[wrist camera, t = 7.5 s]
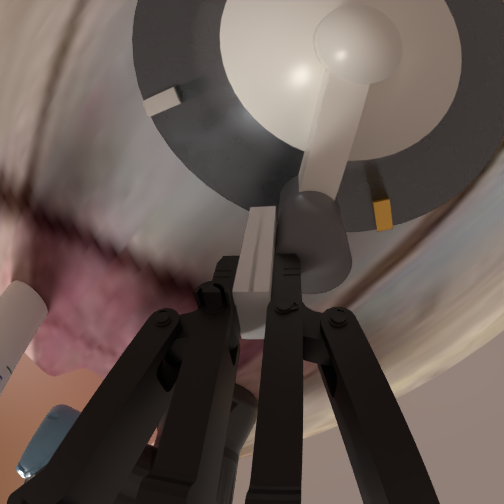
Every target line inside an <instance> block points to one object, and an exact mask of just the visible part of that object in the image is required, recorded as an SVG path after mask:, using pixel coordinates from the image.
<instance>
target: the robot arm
mask: <svg viewBox="0 0 504 504" xmlns="http://www.w3.org/2000/svg"><path fill="white" fill-rule="evenodd" d="M276 234H277V218H276V206H267V207H250V211H249V216H248V221H247V225H246V230H245V234H244V239H243V244H242V248H241V253H240V256H223V257H222V258H221V259H220V261H219V262H218V263H217V266H216V269H215V273H214V276H213V279H212V281H209V282H205V283H203V284H201V285H200V286H198V287H197V288H196V290H195V291H194V294H195V297H196V301H197V304H198V310H196V311H193V312H190V313H186V314H182V315H179V314H178V313H177V312H176V311H175V310H173V309H169V308H164V309H160V310H158V311H156V312H154V313H153V314H152V315H151V316H150V317H149V318H148V320H147V321H146V322H145V324H144V325H143V326H142V328H141V329H140V331H139V332H138V333H137V335H136V336H135V337H134V339H133V340H132V341H131V343H130V344H129V346H128V347H127V348H126V350H125V351H124V352H123V354H122V355H121V357H120V358H119V359H118V361H117V362H116V364H115V365H114V366H113V368H112V369H111V371H110V372H109V373H108V375H107V376H106V378H105V379H104V380H103V382H102V383H101V385H100V386H99V388H98V389H97V391H96V392H95V393H94V395H93V396H92V398H91V399H90V401H89V402H88V404H87V405H86V406H85V408H84V409H83V411H82V412H79V411H77V410H75V409H73V408H72V407H70V406H67V405H62V404H61V405H56V406H55V407H53V408H52V409H51V410H50V412H49V413H48V414H47V415H46V417H45V418H44V420H43V421H42V423H41V424H40V426H39V428H38V429H37V431H36V433H35V434H34V436H33V437H32V439H31V441H30V442H29V444H28V446H27V448H26V449H25V451H24V453H23V455H22V457H21V459H20V461H19V463H18V465H17V467H16V471H17V472H18V473H19V474H20V476H21V477H23V478H26V479H25V482H24V485H22V486H21V487H20V488H18V489H17V490H16V491H14V492H13V493H12V494H11V495H10V496H9V498H8V501H7V504H232V501H233V494H234V488H235V481H236V474H237V466H238V459H239V454H240V451H241V449H242V447H243V445H244V443H245V441H246V439H247V437H248V436H249V434H250V432H251V430H252V428H253V426H254V424H255V422H256V419H257V422H256V432H255V442H254V452H253V461H252V471H251V479H250V486H249V490H248V492H247V495H246V499H245V504H301V479H302V446H303V360H306V361H309V362H313V363H317V364H318V368H319V371H320V374H321V377H322V379H323V382H324V385H325V388H326V391H327V394H328V397H329V400H330V403H331V406H332V409H333V412H334V415H335V417H336V420H337V423H338V426H339V429H340V432H341V435H342V438H343V441H344V444H345V447H346V450H347V453H348V457H349V459H350V463H351V466H352V468H353V472H354V475H355V478H356V481H357V484H358V488H359V491H360V494H361V497H362V500H363V503H364V504H440V503H439V500H438V498H437V495H436V493H435V490H434V488H433V485H432V482H431V480H430V477H429V475H428V472H427V470H426V467H425V465H424V463H423V460H422V458H421V455H420V453H419V451H418V448H417V446H416V443H415V441H414V439H413V436H412V434H411V432H410V430H409V427H408V425H407V423H406V421H405V418H404V416H403V414H402V412H401V410H400V407H399V405H398V403H397V401H396V398H395V396H394V394H393V392H392V390H391V388H390V386H389V383H388V381H387V379H386V377H385V375H384V373H383V371H382V369H381V367H380V365H379V363H378V361H377V359H376V356H375V354H374V352H373V350H372V348H371V346H370V344H369V342H368V340H367V338H366V336H365V334H364V332H363V330H362V328H361V327H360V325H359V323H358V321H357V319H356V317H355V315H354V314H353V313H352V312H351V311H350V310H348V309H346V308H342V307H332V308H330V309H327V310H326V311H325V312H324V313H319V312H316V311H313V310H310V309H309V308H307V307H306V306H305V305H304V303H303V302H302V298H301V266H300V259H299V258H298V256H297V255H296V254H275V246H276ZM240 334H241V338H242V339H264V348H263V359H262V370H261V381H260V391H259V402H257V400H256V398H255V397H254V396H253V395H252V394H251V393H250V392H248V391H247V390H245V389H244V388H242V387H240V386H238V385H236V384H235V379H236V373H237V366H238V360H239V354H240V344H239V337H240ZM156 428H157V436H156V440H155V443H154V446H152V445H149V444H147V443H148V441H149V440H150V438H151V436H152V434H153V433H154V431H155V429H156Z"/></svg>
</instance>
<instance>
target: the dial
mask: <svg viewBox="0 0 504 504" xmlns="http://www.w3.org/2000/svg"><path fill="white" fill-rule="evenodd" d="M220 50H221V56H222V61H223V65H224V68H225V71H226V74H227V77H228V80H229V82H230V84H231V86H232V88H233V90H234V92H235V94H236V95H237V97H238V98H239V100H240V101H241V103H242V104H243V106H244V107H245V108H246V109H247V111H248V112H249V113H250V114H251V115H252V116H253V118H254V119H255V120H257V121H258V122H259V123H260V124H261V125H262V126H263V127H264V128H265V129H266V130H268V131H269V132H270V133H272V134H273V135H275V136H276V137H277V138H279V139H281V140H282V141H284V142H286V143H287V144H289V145H291V146H293V147H295V148H298V149H300V150H302V151H304V156H303V160H302V163H301V167H300V171H299V175H298V176H296V177H294V178H292V179H290V180H289V181H288V182H287V183H286V184H285V185H284V187H283V188H282V190H281V193H280V199H279V211H278V223H277V234H276V246H275V254H296V255H297V256H298V258H299V259H300V266H301V293H306V294H318V293H323V292H327V291H330V290H332V289H334V288H336V287H337V286H339V285H340V284H341V283H342V282H343V281H344V280H345V279H346V278H347V276H348V275H349V273H350V270H351V266H352V257H351V252H350V248H349V244H348V239H347V235H346V231H345V227H344V223H343V219H342V215H341V211H340V207H339V203H338V200H337V196H336V195H337V192H338V189H339V186H340V183H341V180H342V176H343V173H344V170H345V167H346V164H347V161H357V160H370V159H376V158H381V157H385V156H388V155H392V154H395V153H397V152H399V151H402V150H404V149H406V148H408V147H410V146H412V145H413V144H415V143H417V142H418V141H420V140H421V139H422V138H424V137H425V136H426V135H427V134H429V133H430V132H431V131H432V130H433V129H434V128H435V127H436V126H437V125H438V123H439V122H440V121H441V119H442V118H443V117H444V115H445V114H446V113H447V111H448V109H449V107H450V105H451V103H452V102H453V99H454V97H455V94H456V91H457V88H458V84H459V80H460V75H461V64H462V56H461V44H460V39H459V34H458V30H457V27H456V24H455V21H454V18H453V16H452V14H451V12H450V10H449V8H448V6H447V4H446V2H445V1H444V0H227V1H226V4H225V7H224V11H223V14H222V18H221V26H220Z"/></svg>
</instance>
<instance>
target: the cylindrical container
mask: <svg viewBox="0 0 504 504" xmlns="http://www.w3.org/2000/svg"><path fill="white" fill-rule="evenodd" d="M47 315H48V310H47V307H46V304H45V302H44V301H43V299H42V298H41V297H40V295H39V294H38V293H37V292H36V291H35V290H34V289H33V288H31V287H30V286H29V285H27V284H26V283H24V282H21V281H18V280H14V281H12V282H11V284H10V285H9V286H8V287H7V289H6V290H5V291H4V292H3V294H2V295H1V296H0V395H1V393H2V391H3V389H4V387H5V386H6V383H7V382H8V380H9V378H10V376H11V374H12V372H13V371H14V369H15V367H16V365H17V364H18V362H19V360H20V358H21V357H22V355H23V353H24V352H25V350H26V348H27V347H28V345H29V343H30V342H31V340H32V338H33V337H34V335H35V334H36V332H37V330H38V329H39V327H40V326H41V324H42V323H43V321H44V319H45V318H46V316H47Z"/></svg>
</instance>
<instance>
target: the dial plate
mask: <svg viewBox="0 0 504 504" xmlns="http://www.w3.org/2000/svg"><path fill="white" fill-rule="evenodd" d="M226 1H227V0H138V2H137V6H136V11H135V15H134V25H133V36H132V42H133V59H134V66H135V71H136V76H137V81H138V85H139V88H140V91H141V94H142V97H143V100H144V101H142V104H143V106H144V109H145V111H146V113H147V115H148V118H149V117H151V118H152V120H153V122H154V124H155V125H156V127H157V129H158V131H159V132H160V134H161V135H162V137H163V138H164V140H165V141H166V143H167V144H168V145H169V147H170V148H171V150H172V151H173V152H174V153H175V154H176V156H177V157H178V158H179V159H180V160H181V161H182V162H183V163H184V165H185V166H186V167H187V168H188V169H189V170H190V171H191V172H193V173H194V174H195V175H196V176H197V177H198V178H199V179H200V180H202V181H203V182H204V183H205V184H206V185H207V186H209V187H210V188H212V189H213V190H214V191H216V192H217V193H219V194H220V195H222V196H223V197H224V198H226V199H227V200H229V201H231V202H233V203H235V204H237V205H238V206H240V207H242V208H244V209H246V210H248V211H250V207H267V206H276V218H277V222H278V211H279V199H280V193H281V190H282V188H283V187H284V185H285V184H286V183H287V182H288V181H289V180H290V179H292V178H294V177H296V176H298V175H299V171H300V167H301V163H302V160H303V156H304V151H302V150H300V149H298V148H295V147H293V146H291V145H289V144H287V143H286V142H284V141H282V140H281V139H279V138H277V137H276V136H275V135H273V134H272V133H270V132H269V131H268V130H266V129H265V128H264V127H263V126H262V125H261V124H260V123H259V122H258V121H257V120H255V119H254V118H253V116H252V115H251V114H250V113H249V112H248V111H247V109H246V108H245V107H244V106H243V104H242V103H241V101H240V100H239V98H238V97H237V95H236V94H235V92H234V90H233V88H232V86H231V84H230V82H229V80H228V77H227V74H226V71H225V68H224V65H223V61H222V56H221V50H220V26H221V18H222V14H223V11H224V7H225V4H226ZM444 1H445V2H446V4H447V6H448V8H449V10H450V12H451V14H452V16H453V18H454V21H455V24H456V27H457V30H458V34H459V39H460V44H461V56H462V64H461V75H460V80H459V84H458V88H457V91H456V94H455V97H454V99H453V102H452V103H451V105H450V107H449V109H448V111H447V113H446V114H445V115H444V117H443V118H442V119H441V121H440V122H439V123H438V125H437V126H436V127H435V128H434V129H433V130H432V131H431V132H430V133H429V134H427V135H426V136H425V137H424V138H422V139H421V140H420V141H418V142H417V143H415V144H413V145H412V146H410V147H408V148H406V149H404V150H402V151H399V152H397V153H395V154H392V155H388V156H385V157H381V158H376V159H370V160H357V161H347V164H346V167H345V170H344V173H343V176H342V180H341V183H340V186H339V189H338V192H337V195H336V196H337V200H338V203H339V207H340V211H341V215H342V219H343V223H344V227H345V231H346V232H360V231H368V230H374V229H377V232H379V231H384V230H388V229H393V225H397V224H401V223H404V222H407V221H410V220H412V219H414V218H417V217H419V216H422V215H424V214H426V213H428V212H430V211H432V210H434V209H435V208H437V207H439V206H441V205H443V204H444V203H446V202H447V201H449V200H450V199H451V198H453V197H454V196H455V195H457V194H458V193H459V192H461V191H462V190H463V189H464V188H465V187H466V186H467V185H468V184H469V183H470V182H471V181H472V180H473V179H475V178H476V177H477V175H478V174H479V173H480V172H481V170H482V169H483V168H484V167H485V165H486V164H487V163H488V162H489V160H490V159H491V157H492V156H493V154H494V152H495V151H496V149H497V147H498V146H499V144H500V142H501V140H502V138H503V136H504V3H503V0H444Z"/></svg>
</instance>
